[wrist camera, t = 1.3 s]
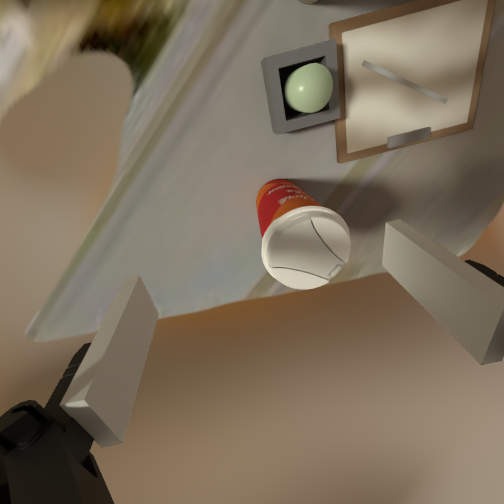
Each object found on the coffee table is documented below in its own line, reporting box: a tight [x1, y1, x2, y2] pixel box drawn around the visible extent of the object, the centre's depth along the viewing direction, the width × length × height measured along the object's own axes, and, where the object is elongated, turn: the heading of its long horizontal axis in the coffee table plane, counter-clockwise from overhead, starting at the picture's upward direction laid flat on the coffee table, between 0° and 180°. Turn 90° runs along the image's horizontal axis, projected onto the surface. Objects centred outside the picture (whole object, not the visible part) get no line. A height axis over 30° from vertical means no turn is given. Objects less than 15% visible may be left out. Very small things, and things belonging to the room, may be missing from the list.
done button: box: [283, 63, 333, 113], centre depth 27 cm, size 4×4×4 cm
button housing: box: [261, 39, 340, 134], centre depth 29 cm, size 7×7×3 cm
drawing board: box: [329, 0, 495, 163], centre depth 30 cm, size 14×17×2 cm
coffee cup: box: [256, 179, 351, 289], centre depth 30 cm, size 8×8×15 cm
